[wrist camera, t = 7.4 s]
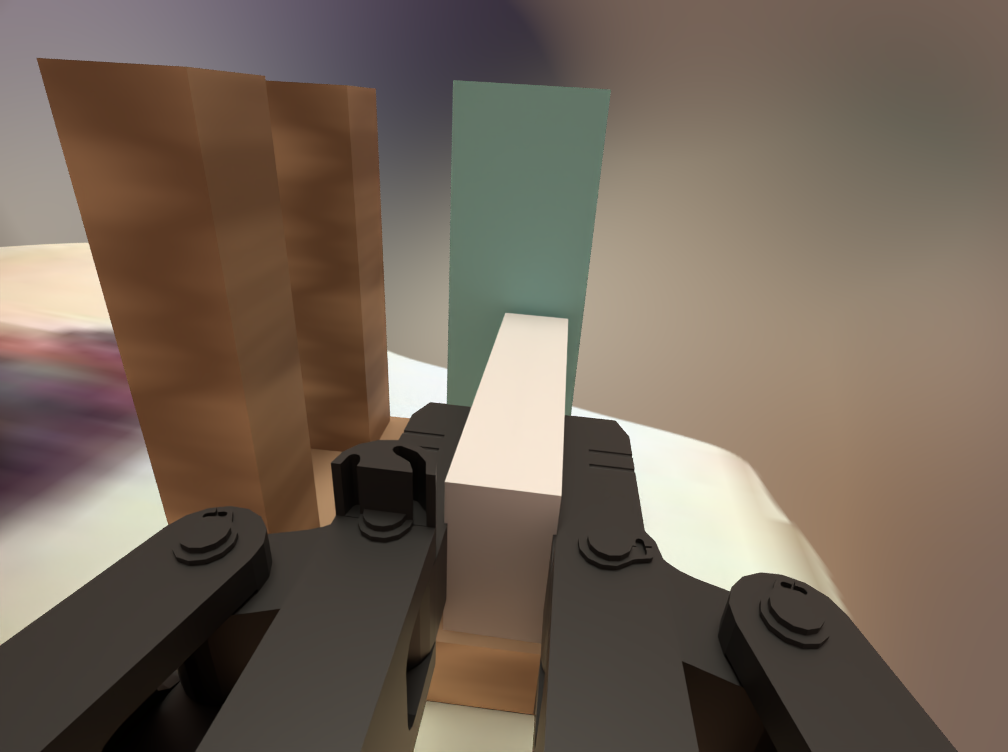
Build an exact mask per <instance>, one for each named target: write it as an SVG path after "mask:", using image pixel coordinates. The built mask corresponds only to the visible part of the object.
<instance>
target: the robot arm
mask: <svg viewBox="0 0 1008 752" xmlns="http://www.w3.org/2000/svg"><path fill="white" fill-rule="evenodd" d="M567 339H568V319H566V318H555V317H545V316H534V315H524V314H513V313H505V315H504V318H503V321H502V324H501V327H500V329H499V332H498V335H497V338H496V340H495V343H494V346H493V349H492V352H491V354H490V357H489V360H488V363H487V365H486V368H485V371H484V374H483V377H482V379H481V382H480V385H479V388H478V391H477V393H476V396H475V399H474V402H473V404H472V407H469V406H460V405H451V404H442V403H433V402H430V403H429V404H427V405H426V406H424V407H423V408H421V409H420V410H418V411H417V412H415V413H414V414H412V416H411V418H410V420H409V422H408V424H407V425H406V427H405V429H404V433H402V434H401V436H400V438H399V440H376V441H371V442H366V443H361V444H358V445H356V446H354V447H352V448H350V449H347V450H345V451H343V452H342V453H341V454H340V455H339V456H337V457H336V458H335V459H334V460H333V461H332V462H331V471H332V481H333V491H334V501H335V511H336V516H335V518H334V519H333V521H332V523H331V524H329V525H326V526H323V527H319V528H314V529H308V530H300V531H291V532H282V533H273V534H268V533H267V528H266V526H265V524H264V521H263V519H262V517H261V516H259V515H258V514H256V513H254V512H253V511H251V510H250V509H246V508H240V507H234V506H224V507H214V508H207V509H204V510H201V511H198V512H195V513H191V514H188V515H186V516H184V517H182V518H180V519H179V520H177V521H175V522H173V523H171V524H170V525H168V526H166V527H165V528H163V529H162V530H160V531H159V532H158V533H156V534H155V535H153V536H152V537H151V538H149V539H148V540H147V541H145V542H144V543H142V544H141V545H140V546H138V547H137V548H135V549H134V550H133V551H131V552H130V553H128V554H127V555H126V556H124V557H123V558H121V559H120V560H119V561H117V562H116V563H115V564H113V565H112V566H110V567H109V568H108V569H106V570H105V571H103V572H102V573H101V574H99V575H98V576H96V577H95V578H94V579H92V580H91V581H89V582H88V583H87V584H85V585H84V586H83V587H81V588H80V589H78V590H77V591H76V592H74V593H73V594H71V595H70V596H69V597H67V598H66V599H64V600H63V601H62V602H60V603H59V604H57V605H56V606H55V607H53V608H52V609H51V610H49V611H48V612H46V613H45V614H44V615H42V616H41V617H39V618H38V619H37V620H35V621H34V622H32V623H31V624H30V625H28V626H27V627H26V628H24V629H23V630H21V631H20V632H19V633H17V634H16V635H14V636H13V637H12V638H10V639H9V640H7V641H6V642H5V643H3V644H2V645H0V752H413V751H414V747H415V743H416V739H417V735H418V731H419V727H420V723H421V719H422V715H423V711H424V707H425V703H426V699H427V696H428V692H429V688H430V684H431V680H432V676H433V672H434V668H435V661H436V636H437V632H438V629H439V625H440V621H441V618H442V614H443V629H444V630H451V631H457V632H464V633H471V634H478V635H485V636H492V637H499V638H506V639H512V640H519V641H526V642H533V643H540V644H541V657H540V665H539V673H538V680H537V688H536V696H535V703H534V711H533V714H535V723H534V737H533V751H532V752H958V751H957V750H956V749H955V748H954V747H953V745H952V744H951V743H950V741H948V739H947V738H946V736H945V735H944V734H943V733H942V732H941V730H940V729H939V728H938V727H937V725H936V724H935V723H934V722H933V721H932V719H931V718H930V717H929V715H928V714H927V713H926V712H925V711H924V709H923V708H922V707H921V706H920V704H919V703H918V702H917V701H916V699H915V698H914V697H913V696H912V695H911V693H910V692H909V691H908V690H907V688H906V687H905V686H904V685H903V684H902V682H901V681H900V680H899V679H898V677H897V676H896V675H895V674H894V672H893V671H892V670H891V669H890V667H889V666H888V665H887V664H886V663H885V661H884V660H883V659H882V658H881V656H880V655H879V654H878V653H877V651H876V650H875V649H874V648H873V646H872V645H871V644H870V643H869V642H868V640H867V639H866V638H865V637H864V635H863V634H862V633H861V632H860V631H859V629H858V628H857V627H856V626H855V624H854V623H853V622H852V621H851V619H850V618H849V617H848V616H847V615H846V614H845V613H844V612H843V611H842V610H841V609H840V608H839V607H838V606H837V605H836V604H835V603H834V602H833V601H832V600H831V599H830V598H829V597H827V596H826V595H824V594H822V593H821V592H819V591H817V590H816V589H814V588H813V587H811V586H809V585H808V584H806V583H804V582H801V581H798V580H795V579H792V578H790V577H787V576H784V575H779V574H769V573H756V574H752V575H748V576H744V577H742V578H741V579H740V580H739V581H738V582H737V583H736V584H735V585H733V586H732V588H731V591H727V590H725V589H722V588H719V587H717V586H714V585H711V584H709V583H706V582H703V581H701V580H698V579H696V578H693V577H691V576H689V575H687V574H685V573H683V572H681V571H679V570H678V569H676V568H675V567H673V566H672V565H670V564H669V563H667V562H666V561H665V560H664V559H663V558H662V555H661V553H660V551H659V549H658V546H657V544H656V542H655V541H654V540H653V539H652V538H651V537H650V536H649V535H648V534H647V533H646V532H645V530H644V524H643V518H642V512H641V506H640V500H639V494H638V487H637V481H636V475H635V473H634V463H633V458H632V451H631V445H630V439H629V436H628V435H627V434H626V432H625V431H624V430H623V429H622V428H621V427H620V425H619V424H618V423H617V422H616V421H614V420H605V419H596V418H587V417H578V416H568V415H565V391H566V365H567Z"/></svg>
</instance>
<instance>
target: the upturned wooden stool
mask: <svg viewBox="0 0 1008 752" xmlns="http://www.w3.org/2000/svg"><path fill="white" fill-rule="evenodd" d="M37 61H38V65H39V68H40V72H41V75H42V79H43V82H44V86H45V90H46V93H47V96H48V100H49V103H50V107H51V110H52V114H53V118H54V121H55V125H56V128H57V132H58V136H59V139H60V143H61V146H62V150H63V153H64V156H65V160H66V164H67V167H68V171H69V174H70V178H71V181H72V185H73V189H74V192H75V196H76V199H77V203H78V206H79V210H80V213H81V217H82V221H83V224H84V228H85V231H86V235H87V238H88V242H89V245H90V249H91V252H92V256H93V260H94V263H95V267H96V270H97V274H98V277H99V281H100V284H101V288H102V291H103V295H104V299H105V302H106V306H107V309H108V313H109V316H110V320H111V323H112V327H113V330H114V334H115V337H116V341H117V345H118V348H119V352H120V355H121V359H122V362H123V366H124V369H125V373H126V376H127V380H128V384H129V387H130V391H131V394H132V398H133V401H134V405H135V408H136V412H137V415H138V419H139V422H140V426H141V430H142V433H143V437H144V440H145V444H146V447H147V451H148V454H149V458H150V461H151V465H152V469H153V472H154V476H155V479H156V483H157V486H158V490H159V493H160V497H161V500H162V504H163V507H164V511H165V515H166V518H167V522H168V525H170V524H171V523H173V522H175V521H177V520H179V519H180V518H182V517H184V516H186V515H188V514H191V513H195V512H198V511H201V510H204V509H207V508H214V507H224V506H234V507H240V508H246V509H250V510H251V511H253V512H254V513H256V514H258V515H259V516H261V517H262V519H263V521H264V524H265V526H266V528H267V533H268V534H273V533H282V532H291V531H300V530H308V529H314V528H319V527H323V526H326V525H329V524H331V523H332V521H333V519H334V518H335V516H336V511H335V501H334V491H333V481H332V471H331V462H332V461H333V460H334V459H335V458H336V457H337V456H339V455H340V454H341V453H342V452H343V451H345V450H347V449H350V448H352V447H354V446H356V445H358V444H361V443H366V442H371V441H376V440H399V438H400V436H401V434H402V433H404V429H405V427H406V425H407V424H408V422H409V420H410V418H400V417H390V406H389V383H388V360H387V339H386V315H385V293H384V269H383V247H382V224H381V201H380V179H379V157H378V156H379V155H378V132H377V109H376V89H372V88H364V87H355V86H347V85H330V84H329V85H328V84H313V83H297V82H280V81H266V80H265V76H261V75H252V74H243V73H235V72H226V71H217V70H209V69H200V68H192V67H179V66H162V65H146V64H145V65H144V64H128V63H112V62H96V61H95V62H94V61H79V60H78V61H77V60H62V59H43V58H37ZM540 657H541V644H540V643H533V642H526V641H519V640H512V639H506V638H499V637H492V636H485V635H478V634H471V633H464V632H457V631H451V630H444V629H443V614H442V618H441V621H440V625H439V629H438V632H437V636H436V661H435V668H434V672H433V676H432V680H431V684H430V688H429V692H428V696H427V699H426V700H429V701H436V702H444V703H451V704H459V705H466V706H473V707H481V708H488V709H496V710H503V711H511V712H518V713H525V714H533V711H534V703H535V696H536V688H537V680H538V673H539V665H540ZM533 715H535V714H533Z"/></svg>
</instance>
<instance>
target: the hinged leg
mask: <svg viewBox="0 0 1008 752" xmlns="http://www.w3.org/2000/svg"><path fill="white" fill-rule="evenodd" d="M610 93H611V90H607V89H590V88H573V87H556V86H539V85H522V84H503V83H488V82H487V83H486V82H471V81H453V119H452V120H453V121H452V122H453V123H452V169H451V174H452V175H451V221H450V271H449V275H450V276H449V322H448V373H447V404H451V405H460V406H469V407H472V404H473V402H474V399H475V396H476V393H477V391H478V388H479V385H480V382H481V379H482V377H483V374H484V371H485V368H486V365H487V363H488V360H489V357H490V354H491V352H492V349H493V346H494V343H495V340H496V338H497V335H498V332H499V329H500V327H501V324H502V321H503V318H504V315H505V313H513V314H524V315H534V316H545V317H555V318H566V319H568V339H567V365H566V391H565V415H568V416H571V410H572V401H573V393H574V385H575V377H576V369H577V361H578V353H579V344H580V336H581V328H582V320H583V312H584V304H585V296H586V288H587V280H588V271H589V263H590V255H591V247H592V238H593V231H594V223H595V215H596V206H597V198H598V190H599V182H600V174H601V166H602V157H603V150H604V141H605V133H606V125H607V117H608V109H609V101H610Z"/></svg>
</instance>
